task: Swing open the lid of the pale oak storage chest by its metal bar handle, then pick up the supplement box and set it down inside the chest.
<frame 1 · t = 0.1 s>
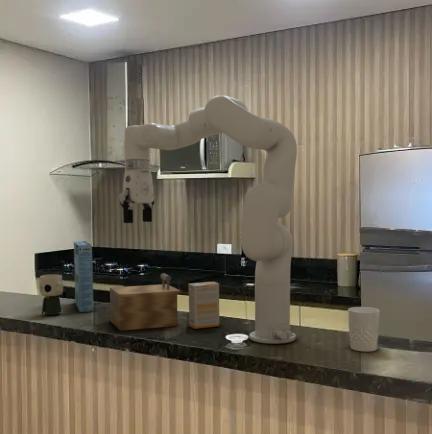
hand: (138, 222, 184), 31 cm above the counter, tool pointing down, fingers open, 9 cm apart
supplement box: (204, 327, 180), on the counter
white cup: (363, 349, 153), on the counter
character mug: (51, 315, 199), on the counter
lid: (144, 283, 184), point 12 cm above the counter, hinge at 0.0°
chest: (143, 323, 185), on the counter
gum box: (83, 307, 213), on the counter
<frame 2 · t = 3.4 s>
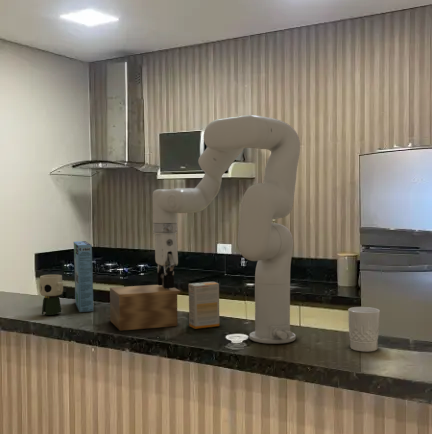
hand: (165, 286, 187), 11 cm above the counter, tool pointing down, fingers closed on lid, 6 cm apart
lid: (144, 283, 184), point 12 cm above the counter, hinge at 0.0°, touching gripper
everything else where it was.
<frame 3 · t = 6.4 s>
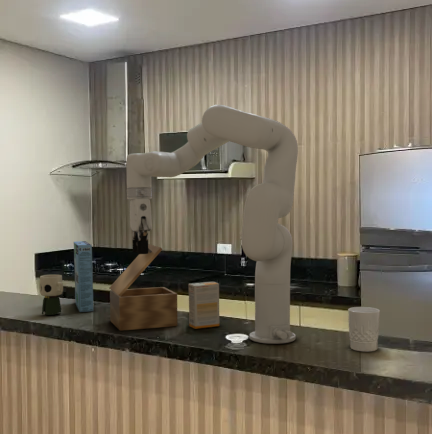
hand: (140, 252, 183), 22 cm above the counter, tool pointing down, fingers closed on lid, 6 cm apart
lid: (130, 264, 182), point 18 cm above the counter, hinge at 46.3°, touching gripper
everything else where it was.
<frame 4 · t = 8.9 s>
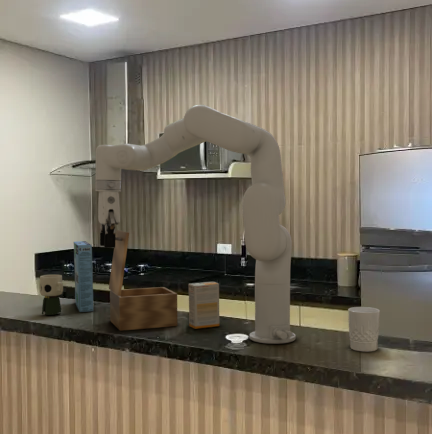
hand: (107, 246, 180), 24 cm above the counter, tool pointing down, fingers closed on lid, 6 cm apart
lid: (111, 260, 180), point 20 cm above the counter, hinge at 81.5°, touching gripper
everything else where it was.
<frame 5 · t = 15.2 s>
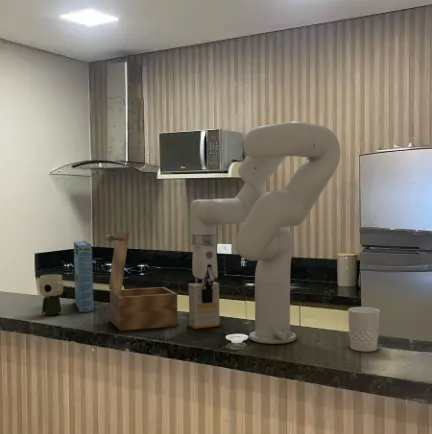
hand: (203, 300, 180), 8 cm above the counter, tool pointing down, fingers closed on supplement box, 5 cm apart
supplement box: (204, 327, 180), on the counter, touching gripper
lid: (111, 260, 180), point 20 cm above the counter, hinge at 81.6°
everything else where it was.
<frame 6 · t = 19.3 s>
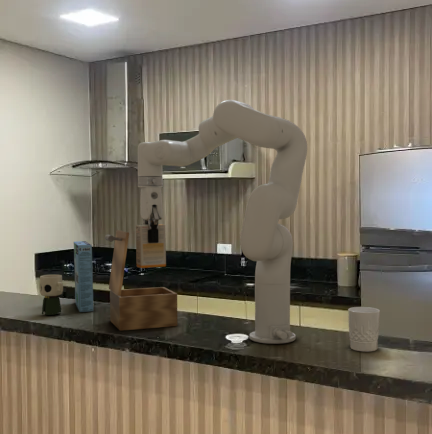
hand: (150, 241, 184), 25 cm above the counter, tool pointing down, fingers closed on supplement box, 5 cm apart
supplement box: (151, 267, 184), point 17 cm above the counter, touching gripper
everything else where it was.
when the fingers open (9 cm above the counter, at t = 23.3 s): supplement box stays where it is, resting on chest.
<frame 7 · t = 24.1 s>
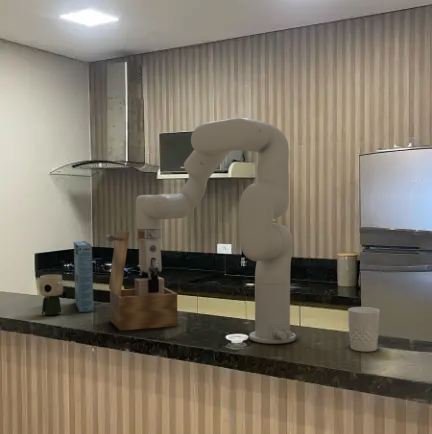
hand: (149, 290, 185), 10 cm above the counter, tool pointing down, fingers open, 9 cm apart
supplement box: (149, 321, 185), point 1 cm above the counter, touching chest
everything else where it was.
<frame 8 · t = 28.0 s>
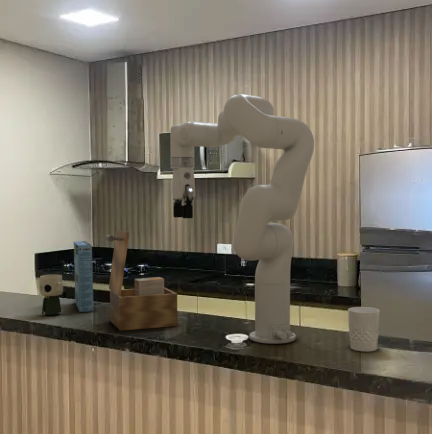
hand: (182, 217, 191), 32 cm above the counter, tool pointing down, fingers open, 9 cm apart
nothing on the counter moved.
at the end: lid at +82° (first picture: +0°); supplement box inside the target area in the chest (2.0 cm from its centre), point 0.6 cm above the chest's base; supplement box tilted 0° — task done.
